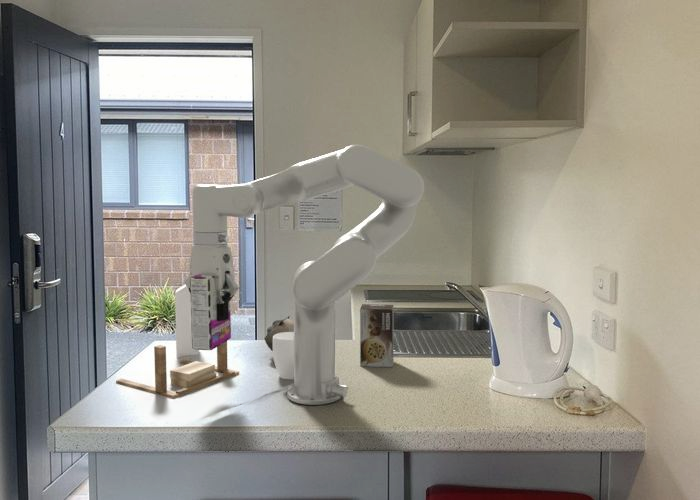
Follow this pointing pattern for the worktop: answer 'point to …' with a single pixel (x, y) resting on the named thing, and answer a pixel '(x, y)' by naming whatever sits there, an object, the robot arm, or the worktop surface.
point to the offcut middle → (198, 380)
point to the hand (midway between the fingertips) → (211, 317)
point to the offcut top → (192, 371)
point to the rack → (161, 363)
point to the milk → (183, 323)
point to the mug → (284, 354)
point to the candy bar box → (206, 314)
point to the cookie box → (376, 335)
